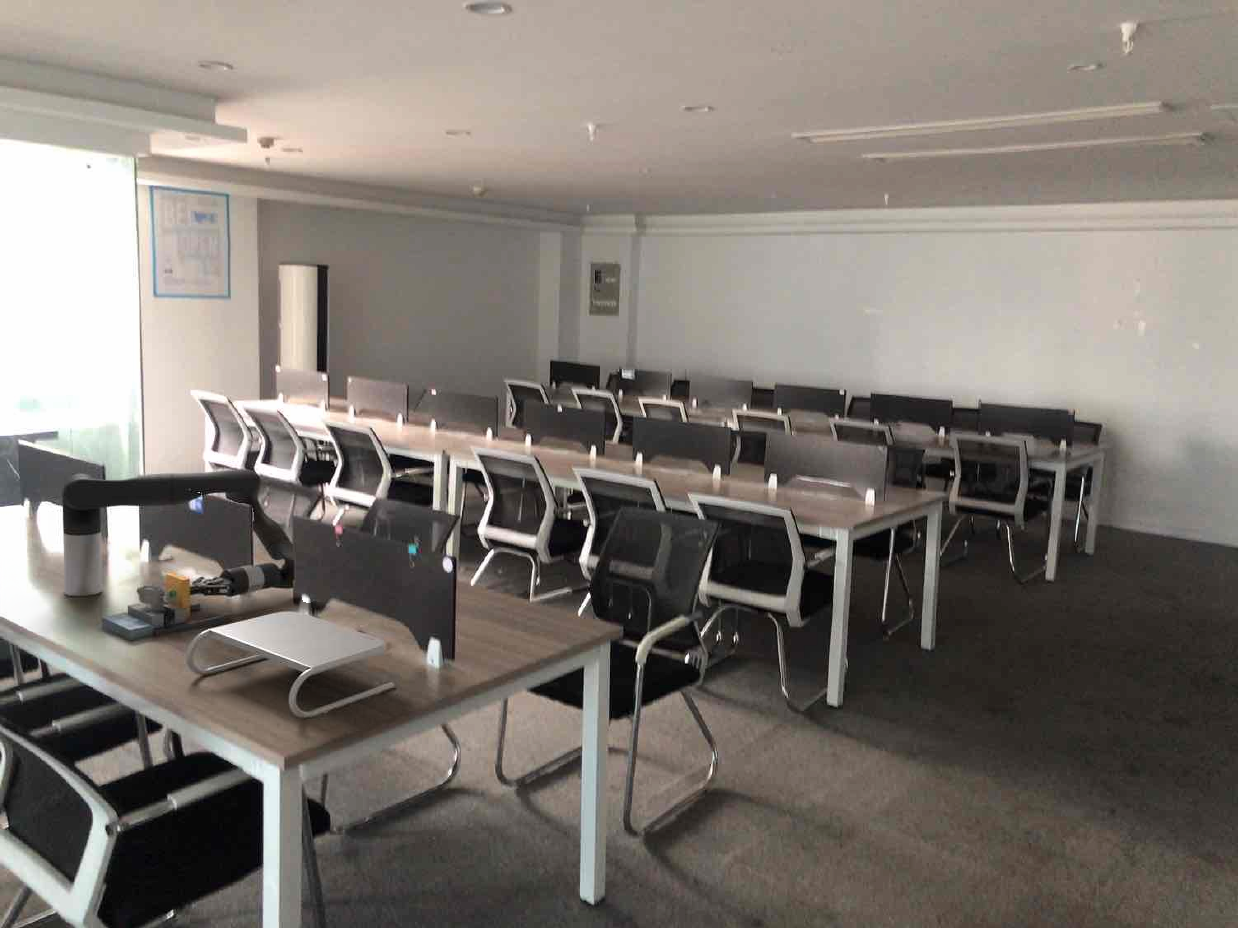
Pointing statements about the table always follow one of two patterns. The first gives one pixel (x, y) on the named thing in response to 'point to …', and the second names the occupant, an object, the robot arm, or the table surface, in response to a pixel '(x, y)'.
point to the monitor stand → (295, 649)
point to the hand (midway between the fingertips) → (182, 591)
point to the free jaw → (177, 600)
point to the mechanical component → (156, 596)
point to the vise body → (150, 623)
